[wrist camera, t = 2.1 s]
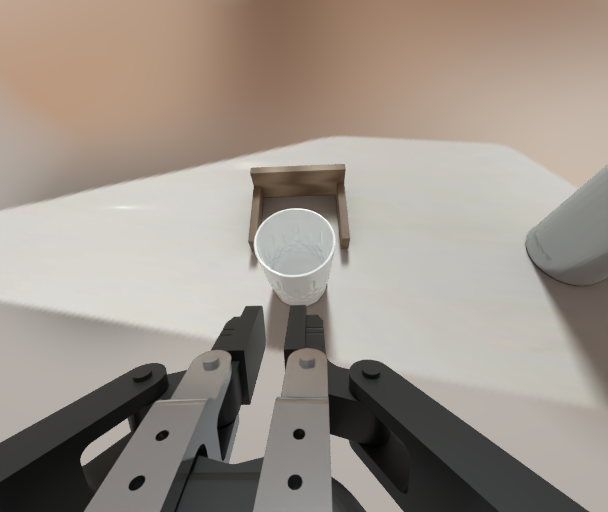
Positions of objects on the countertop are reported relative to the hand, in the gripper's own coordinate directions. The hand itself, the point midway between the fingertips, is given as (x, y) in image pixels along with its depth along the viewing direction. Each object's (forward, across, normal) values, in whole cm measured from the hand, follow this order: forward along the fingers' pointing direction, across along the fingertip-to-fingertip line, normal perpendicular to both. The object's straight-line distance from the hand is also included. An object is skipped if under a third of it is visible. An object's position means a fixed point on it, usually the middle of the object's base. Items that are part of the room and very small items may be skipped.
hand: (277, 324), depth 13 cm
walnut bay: (+29, 0, 0) cm, 29 cm away
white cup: (+22, 0, +6) cm, 23 cm away
